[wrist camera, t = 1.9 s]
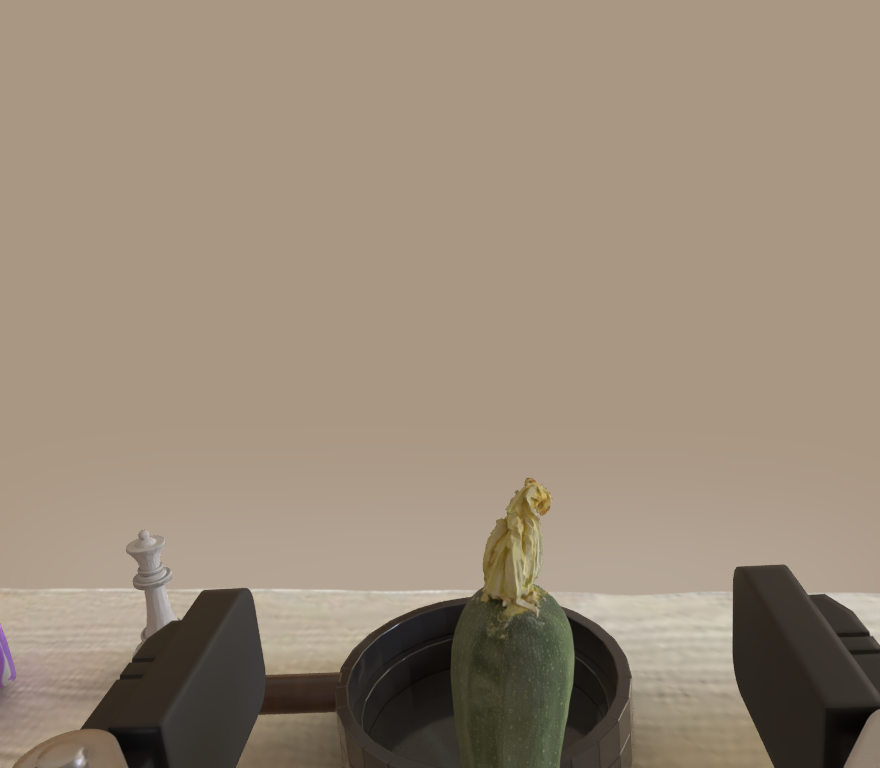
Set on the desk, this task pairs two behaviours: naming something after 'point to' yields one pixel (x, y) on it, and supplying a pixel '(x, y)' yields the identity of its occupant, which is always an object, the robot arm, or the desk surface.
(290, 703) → the pan handle
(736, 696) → the desk surface
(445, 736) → the pan
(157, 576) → the chess piece
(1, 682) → the pencil case
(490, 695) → the vegetable
